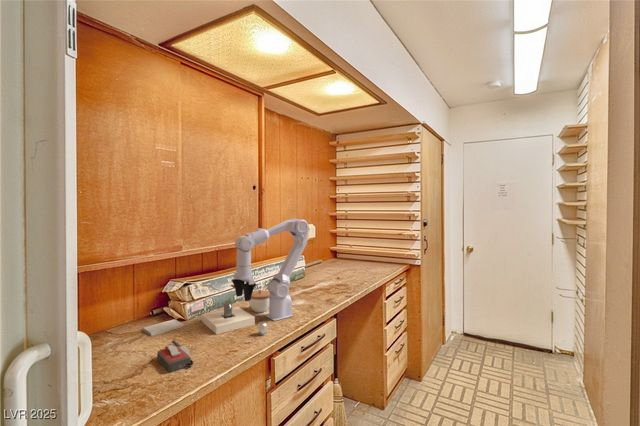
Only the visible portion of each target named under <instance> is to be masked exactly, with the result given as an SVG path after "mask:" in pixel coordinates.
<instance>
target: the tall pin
mask: <svg viewBox="0 0 640 426" xmlns="http://www.w3.org/2000/svg"><path fill="white" fill-rule="evenodd" d="M232 308H233V303H232V302H225V303H223V310H224V318H225V319H226V318H230V317H232Z"/></svg>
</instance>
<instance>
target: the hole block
mask: <svg viewBox="0 0 640 426" xmlns="http://www.w3.org/2000/svg"><path fill="white" fill-rule="evenodd" d="M201 323H202V324H204V325H205V326H206V327H207V328H209V330H211V331H212V332H213V333H214V334H215V335H220V334H223V333H227V332H231V331H235V330H240V329H243V328H247V327H251V326H254V325H256V316H254V315H252V314H250V313H249V312H248V311H245V310H243V309H242V308H241V307H239V306H236V307H232V317H230V318H226V319H225V318H224V309H221V310H217V311H211V312H207V313H201Z"/></svg>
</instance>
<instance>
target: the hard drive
mask: <svg viewBox="0 0 640 426" xmlns="http://www.w3.org/2000/svg"><path fill="white" fill-rule="evenodd" d="M184 326H185V325H184V323H183V322H180V321H178V320H177V319H175V318H173V319H171V320H167V321H163V322H160V323H156V324H151V325H148V326H144V327H142V331H143V332H144V333H145V334H147V335H149V336H150V337H153V336H157V335H159V334H160V335H161V334H163V333H166V332H170V331H172V330H177V329H180V328H183V327H184Z"/></svg>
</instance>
